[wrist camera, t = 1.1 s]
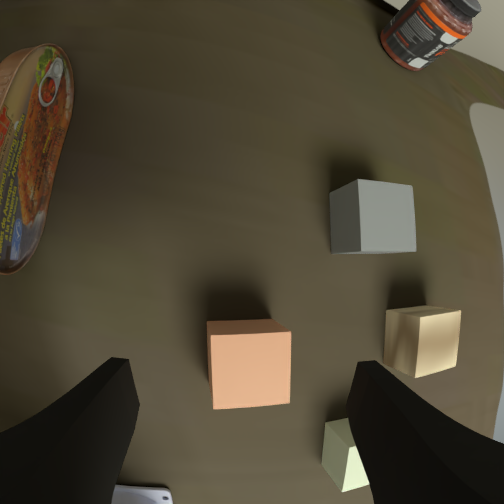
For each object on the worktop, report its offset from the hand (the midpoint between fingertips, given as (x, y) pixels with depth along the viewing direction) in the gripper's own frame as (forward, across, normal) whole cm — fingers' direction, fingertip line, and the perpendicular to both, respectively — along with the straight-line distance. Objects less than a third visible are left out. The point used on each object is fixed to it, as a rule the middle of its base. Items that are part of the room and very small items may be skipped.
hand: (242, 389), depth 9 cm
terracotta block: (+11, 0, +6) cm, 13 cm away
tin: (+13, +15, -6) cm, 21 cm away
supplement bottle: (+23, -16, -19) cm, 34 cm away
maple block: (+13, -14, +7) cm, 20 cm away
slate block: (+15, -8, -2) cm, 18 cm away
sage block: (+9, -9, +15) cm, 20 cm away
